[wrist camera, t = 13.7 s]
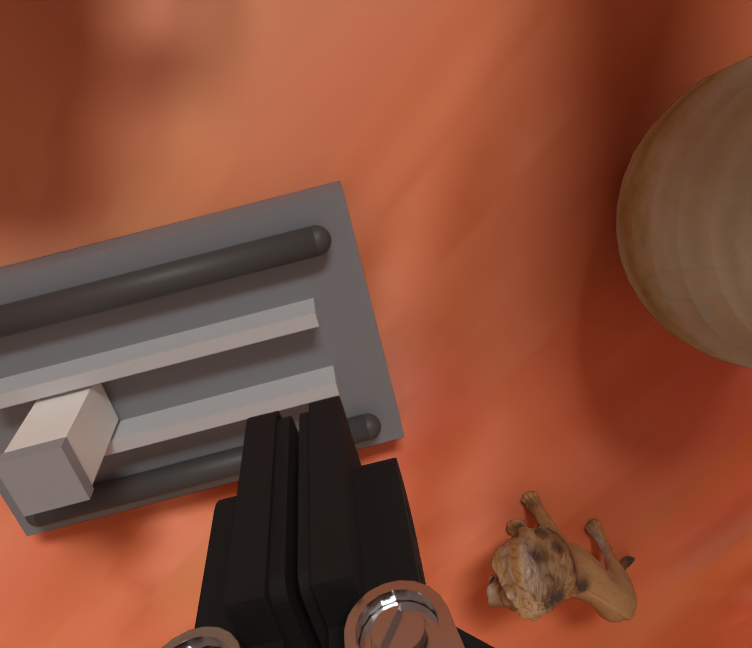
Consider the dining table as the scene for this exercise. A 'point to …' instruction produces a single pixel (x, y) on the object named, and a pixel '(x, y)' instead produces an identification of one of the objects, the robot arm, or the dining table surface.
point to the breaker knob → (58, 450)
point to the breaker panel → (196, 343)
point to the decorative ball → (695, 217)
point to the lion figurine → (557, 570)
